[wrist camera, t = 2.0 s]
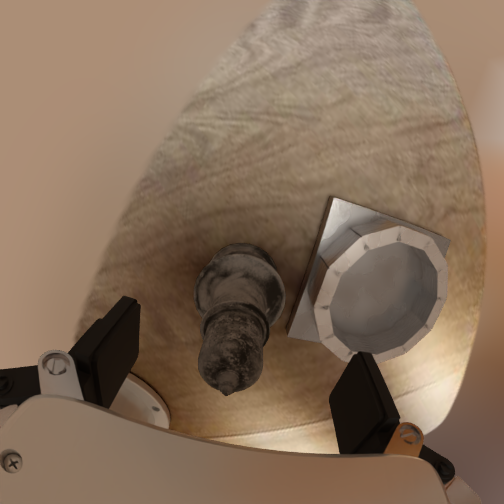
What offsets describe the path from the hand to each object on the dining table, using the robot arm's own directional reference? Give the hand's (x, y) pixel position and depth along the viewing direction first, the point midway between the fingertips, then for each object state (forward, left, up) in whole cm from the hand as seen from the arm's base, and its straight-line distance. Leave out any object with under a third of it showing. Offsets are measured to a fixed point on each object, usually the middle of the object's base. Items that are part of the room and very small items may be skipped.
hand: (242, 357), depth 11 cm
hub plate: (+1, -10, -10) cm, 14 cm away
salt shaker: (-1, 0, -11) cm, 11 cm away
